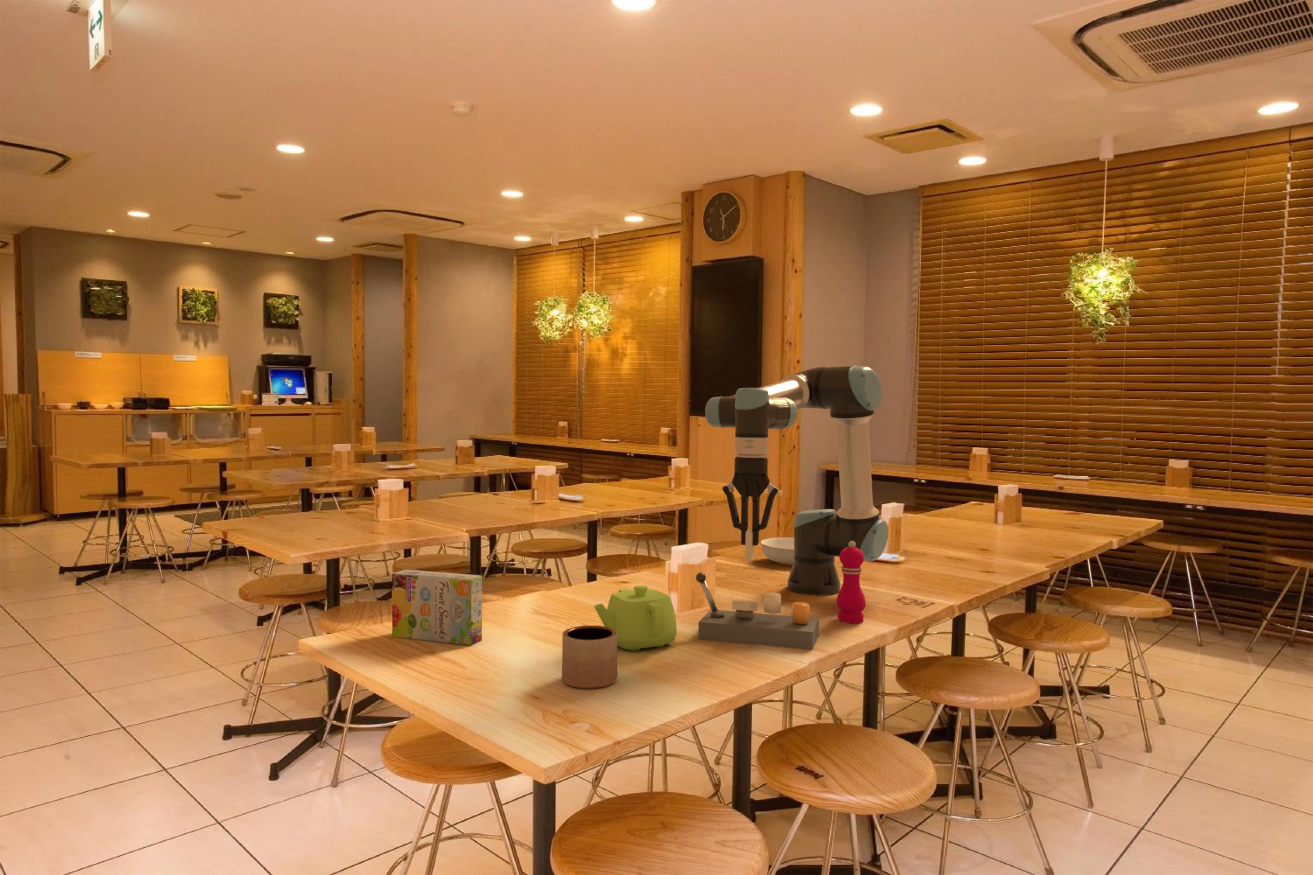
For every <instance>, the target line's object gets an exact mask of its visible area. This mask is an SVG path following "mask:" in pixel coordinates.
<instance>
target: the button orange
mask: <svg viewBox="0 0 1313 875" xmlns="http://www.w3.org/2000/svg"><path fill="white" fill-rule="evenodd" d="M791 612H792V613H791V616H792V622H794V623H798V624H806V623H809V618H810V604H809V603H807V602H802V601H795V602H793V603H792V609H791Z"/></svg>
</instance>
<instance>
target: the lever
mask: <svg viewBox="0 0 1313 875" xmlns="http://www.w3.org/2000/svg"><path fill="white" fill-rule="evenodd" d="M706 579H707V576H706V574H705V573H703V572H698V573H697V574H696V575H695V580H696V582H698V583H699V584H700V587H701V589H702V591H703V594H704V596H705V599H706V600H707V604H708V606H709V607H710V610H712V612H713V613H714V612H717V611H718V610H719V609H718V607H717V604H716V602H715V600H714V598H713V596H712V593H711V591H710V589H709V586H708V584H707V582H706Z"/></svg>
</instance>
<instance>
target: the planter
mask: <svg viewBox="0 0 1313 875" xmlns="http://www.w3.org/2000/svg"><path fill="white" fill-rule="evenodd" d="M561 635H562V644H561V647H562V648H561V649H562V651H561V653H562V654H561V656H562V657H561V658H562V659H561V677H562V678H561V680H562V682H563V683H564V684H566V685H567V686H569V687H572V688H573V689H574V688H575V689H578V690H579V689H580V690H596V689H602V688H603V689H604V688H606V687H608V686H611V685H612V684H614V683H615V682H616V681H617V679H618V645H617V631H616V630H614V629H612V628H609V627H605V626H604V625H579V626H573V627H570V628H567V629H565V630H564V631H563V632H562V634H561Z"/></svg>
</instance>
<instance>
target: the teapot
mask: <svg viewBox="0 0 1313 875" xmlns="http://www.w3.org/2000/svg"><path fill="white" fill-rule="evenodd" d="M593 607H594V609H595V611H596V613H597V615H598V616H599V619H600V621H601V623H602V626H605V627H609V628H612V629H614V630H616V631H617V647H619V648H622V649H623V650H629V651H634V652H635V651H636V652H637V651H640V650H641V649H646V648H653V647H656V648H662V647H664V646H665V645H668V644H672V643H674V641H675V639H676V636H677V619H676V612H675V609H674V605H673V601H672V598H671V596H670V595H668V594H666V593H663V592H662V591H660V590H657V589H653V588H649V587H648V586H646V585H635V586H633V590H631V589H629V588H623V589H618V592H613V593H611V594H610V598H609V601H608V605H607V607H606V606H605V604H603V603H598V604H594V606H593Z"/></svg>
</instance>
